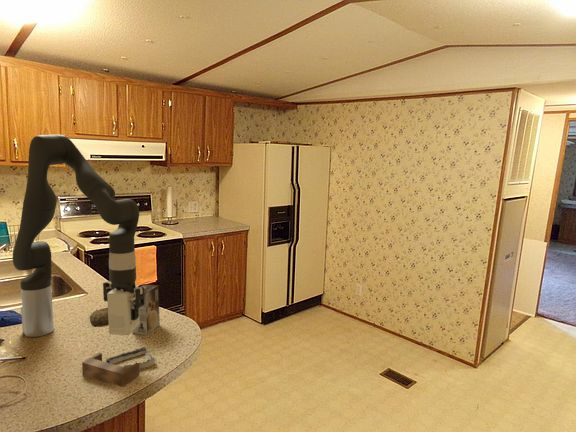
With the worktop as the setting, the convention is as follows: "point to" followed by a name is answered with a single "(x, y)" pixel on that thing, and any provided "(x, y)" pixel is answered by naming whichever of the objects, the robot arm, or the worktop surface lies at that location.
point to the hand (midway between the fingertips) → (124, 317)
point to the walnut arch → (109, 371)
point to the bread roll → (99, 317)
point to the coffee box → (149, 311)
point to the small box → (120, 313)
